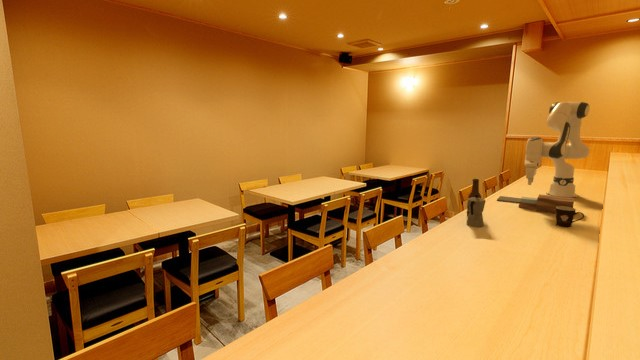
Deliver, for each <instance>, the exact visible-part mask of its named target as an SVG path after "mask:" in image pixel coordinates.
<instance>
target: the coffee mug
mask: <svg viewBox="0 0 640 360" xmlns="http://www.w3.org/2000/svg"><path fill="white" fill-rule="evenodd" d="M576 210H577V209H576V208H574V207H573V208H571V207H566V206H557V207H556V214H555V222H556V225H555V226H557V227H559V228H560V227H561V228H566V229H567V228H569V229H570V228H571V227H572V224H573V223H576V222H578V221H581V220H583V219H584V217H585V214H584V213H583V212H581V211H578V212H576ZM577 214H581V215H582V217H581V218H579V219H575V220H574V217H575V216H576V215H577Z"/></svg>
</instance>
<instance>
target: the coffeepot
mask: <svg viewBox="0 0 640 360" xmlns="http://www.w3.org/2000/svg"><path fill="white" fill-rule="evenodd" d="M475 196H476V197H472V198H468V197H467V203H468V205H469V214H468V217H467V219H466V225H467V226H469V227H473V228H481V227H484V216H483V212H484V210H485V205H486V199H485V198H483V197H481V198H479V197H478V194H476V195H475Z"/></svg>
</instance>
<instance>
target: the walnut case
mask: <svg viewBox="0 0 640 360" xmlns="http://www.w3.org/2000/svg"><path fill="white" fill-rule="evenodd" d="M536 198H537V204H532V203H524V202H521V200H520V201H519V203H518V208H521V209H528V210H535V211H536V212H538V213H549V214H553V215H554V214H555V215H556V207H557V206H566V207H571V208H574V203H575V197H560V196H553V195H549V194H538V197H536Z"/></svg>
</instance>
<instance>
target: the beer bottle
mask: <svg viewBox="0 0 640 360" xmlns="http://www.w3.org/2000/svg"><path fill="white" fill-rule="evenodd" d="M479 182H480V180H479V179H478V178H473V179H472V187H471V191H470V192H469V194H468V196H467V199H468V198H472V197H476V196H475V195H476V194H478V197H479V198H482V195H481V193H480V188H479V187H480V186H479V185H480V183H479ZM468 214H469V205H468V202H467V207H466V217H467V218H468Z"/></svg>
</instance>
